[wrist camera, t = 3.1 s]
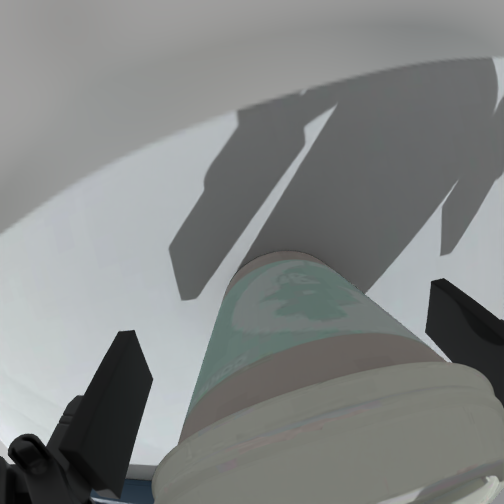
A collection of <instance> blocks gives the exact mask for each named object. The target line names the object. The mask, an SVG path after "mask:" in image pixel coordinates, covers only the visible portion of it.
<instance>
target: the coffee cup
mask: <svg viewBox="0 0 504 504" xmlns="http://www.w3.org/2000/svg"><path fill="white" fill-rule="evenodd" d="M503 488H504V408H503V406H502V404H501V402H500V401H499V400H498V399H497V398H496V397H495V394H494V390H493V387H492V385H491V383H490V382H489V380H488V379H487V378H486V377H485V376H484V375H483V374H482V373H481V372H479V371H477V370H476V369H474V368H471V367H469V366H466V365H462V364H457V363H450V362H446V361H445V360H444V359H443V358H442V357H440V356H439V355H438V354H437V353H436V352H435V351H434V350H432V349H431V348H430V347H429V346H428V345H426V344H425V343H424V342H423V341H422V340H420V339H419V338H418V337H417V336H416V335H414V334H413V333H412V332H411V331H409V330H408V329H407V328H406V327H405V326H403V325H402V324H401V323H400V322H398V321H397V320H396V319H395V318H393V317H392V316H391V315H390V314H389V313H387V312H386V311H385V310H384V309H382V308H381V307H380V306H379V305H377V304H376V303H375V302H374V301H372V300H371V299H370V298H369V297H367V296H366V295H365V294H363V293H362V292H361V291H360V290H358V289H357V288H356V287H355V286H353V285H352V284H351V283H349V282H348V281H347V280H346V279H344V278H343V277H342V276H341V275H339V274H338V273H337V272H335V271H334V270H333V269H331V268H330V267H329V266H327V265H326V264H325V263H323V262H322V261H320V260H319V259H317V258H315V257H313V256H311V255H309V254H306V253H302V252H297V251H277V252H272V253H268V254H265V255H262V256H260V257H258V258H256V259H254V260H252V261H250V262H249V263H248V264H246V265H245V266H244V267H242V268H241V269H240V270H239V271H238V272H237V273H236V275H235V276H234V277H233V279H232V280H231V282H230V283H229V285H228V287H227V289H226V292H225V295H224V298H223V301H222V304H221V307H220V310H219V313H218V316H217V319H216V322H215V325H214V329H213V332H212V335H211V338H210V341H209V344H208V347H207V351H206V354H205V357H204V360H203V363H202V367H201V370H200V373H199V376H198V379H197V383H196V386H195V389H194V392H193V395H192V399H191V402H190V405H189V408H188V412H187V415H186V418H185V421H184V425H183V428H182V432H181V435H180V439H179V442H178V445H177V446H176V447H175V448H174V449H172V450H171V451H170V452H169V453H168V454H167V455H166V456H165V457H164V458H163V460H162V461H161V462H160V464H159V465H158V467H157V468H156V470H155V472H154V475H153V478H152V494H153V497H154V500H155V501H154V504H490V503H491V502H492V501H493V500H494V498H496V497H497V495H498V494H499V493H500V492H501V491H502V490H503Z"/></svg>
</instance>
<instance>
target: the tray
mask: <svg viewBox="0 0 504 504" xmlns="http://www.w3.org/2000/svg"><path fill="white" fill-rule="evenodd" d="M90 496H91V498H92V499H93V500H94V501H95V503H96V504H154V501H155V500H154V497H153V494H152V481H145V480H131V479H125V481H124V485H123V489H122V493H121V498H120V499H113V498H107V497H101V496H99V495H98V494H97V493H96V491H95V490H94V489H93V488H92V491H91V494H90Z"/></svg>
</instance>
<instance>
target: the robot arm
mask: <svg viewBox="0 0 504 504" xmlns="http://www.w3.org/2000/svg"><path fill="white" fill-rule="evenodd" d="M425 333H426V334H427V335H428V336H429V337H430V338H431V339H432V340H433V341H434V342H435V343H436V345H437V346H438V347H439V348H440V349H441V350H442V351H443V352H444V353H445V355H446V356H447V357H448V358H449V359H450V360H451V361H452V362H453V363H457V364H462V365H466V366H469V367H471V368H474V369H476V370H477V371H479V372H481V373H482V374H483V375H484V376H485V377H486V378H487V379H488V380H489V382H490V383H491V385H492V387H493V390H494V394H495V397H496V398H497V399H498V400H499V401H500V402H501V404H502V406H503V408H504V320H502V319H501V320H500V319H498V318H497V317H496V316H494V315H493V314H492V313H491V312H489V311H488V310H487V309H485V308H484V307H483V306H481V305H480V304H479V303H477V302H476V301H475V300H473V299H472V298H471V297H469V296H468V295H467V294H465V293H464V292H463V291H461V290H460V289H459V288H457V287H456V286H454V285H453V284H452V283H450V282H449V281H447V280H446V279H445V278H442V279H438V280H434V281H431V289H430V299H429V308H428V316H427V323H426V330H425ZM152 382H153V378H152V375H151V373H150V370H149V368H148V365H147V363H146V360H145V357H144V355H143V352H142V350H141V347H140V344H139V341H138V339H137V336H136V333H135V330H131V331H119V332H118V334H117V336H116V337H115V339H114V341H113V343H112V344H111V346H110V348H109V350H108V351H107V353H106V355H105V357H104V359H103V360H102V362H101V364H100V366H99V368H98V370H97V371H96V373H95V375H94V377H93V379H92V381H91V383H90V385H89V386H88V388H87V390H86V392H85V394H84V396H80V395H77V396H76V397H75V398H74V399H73V400H72V401H71V402H70V403H69V404H68V405H67V407H66V409H65V411H64V413H63V416H61V418H60V420H59V424H57V426H56V428H55V430H54V432H53V434H52V436H51V438H50V440H49V442H48V444H47V446H46V447H45V445H44V444H43V443H42V441H41V440H40V439H39V438H38V437H37V436H36V435H34V434H24V435H20V436H19V437H17V438H16V439H14V441H13V442H12V443H11V444H10V446H9V449H8V456H9V457H10V458H11V459H12V460H13V461H14V463H15V464H11V465H9V464H8V463H7V462H6V461H5V459H4V458H3V457H1V456H0V504H96V503H95V501H94V500H93V499H92V498H91V496H90V494H91V491H92V488H93V489H94V490H95V491H96V493H97V494H98V495H99V496H101V497H107V498H113V499H120V498H121V493H122V489H123V485H124V481H125V477H126V474H127V470H128V466H129V462H130V458H131V455H132V451H133V447H134V444H135V440H136V436H137V433H138V429H139V426H140V422H141V419H142V415H143V412H144V409H145V405H146V402H147V398H148V395H149V392H150V389H151V385H152Z"/></svg>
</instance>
